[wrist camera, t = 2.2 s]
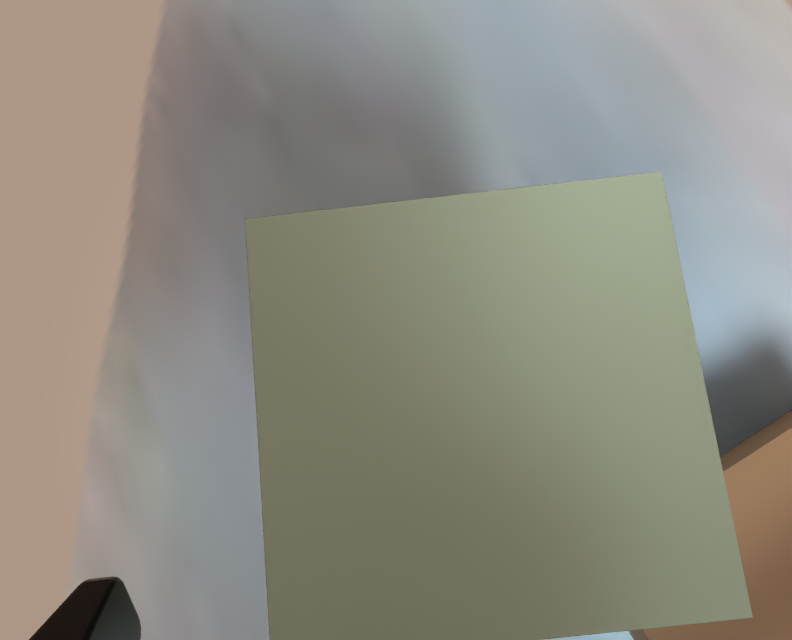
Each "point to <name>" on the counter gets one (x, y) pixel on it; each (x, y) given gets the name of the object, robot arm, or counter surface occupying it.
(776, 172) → the counter surface
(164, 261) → the counter surface
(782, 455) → the tan slab
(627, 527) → the sage block
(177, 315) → the counter surface
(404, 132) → the counter surface
